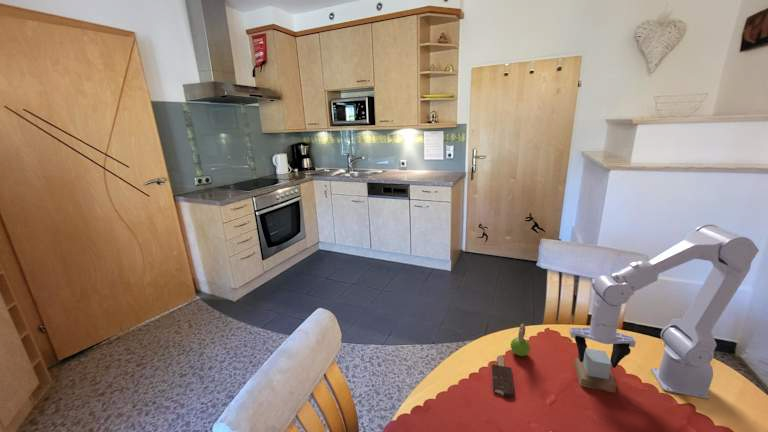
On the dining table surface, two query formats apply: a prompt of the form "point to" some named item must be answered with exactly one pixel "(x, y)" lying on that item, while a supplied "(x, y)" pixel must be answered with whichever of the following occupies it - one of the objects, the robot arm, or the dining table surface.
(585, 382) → the walnut block
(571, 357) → the dining table surface
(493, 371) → the ice cream bar
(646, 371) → the dining table surface
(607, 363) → the slate-blue cube
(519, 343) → the green candy apple
